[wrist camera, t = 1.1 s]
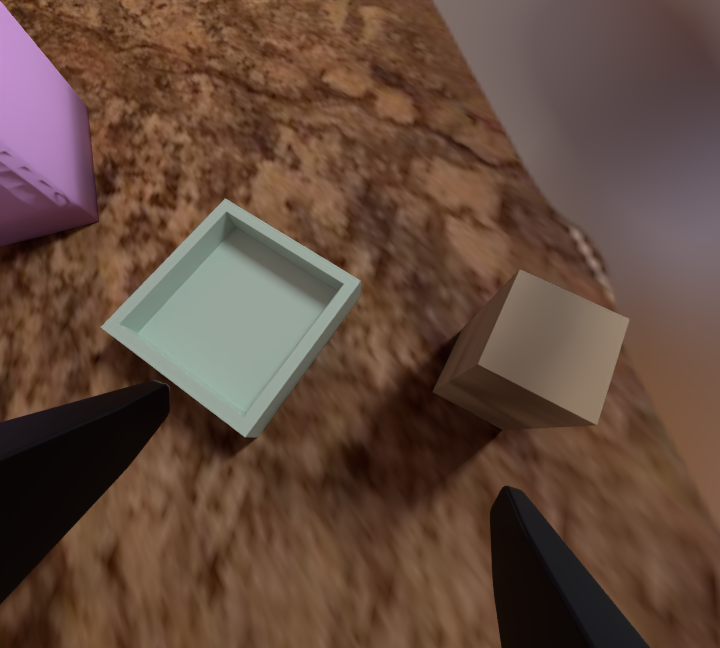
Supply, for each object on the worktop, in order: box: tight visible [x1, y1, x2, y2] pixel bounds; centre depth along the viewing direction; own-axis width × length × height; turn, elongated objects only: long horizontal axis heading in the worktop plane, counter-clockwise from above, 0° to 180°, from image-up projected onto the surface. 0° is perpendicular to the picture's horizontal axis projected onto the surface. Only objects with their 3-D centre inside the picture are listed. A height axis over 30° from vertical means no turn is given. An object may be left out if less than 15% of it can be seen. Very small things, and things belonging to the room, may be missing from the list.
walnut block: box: [432, 269, 629, 430], centre depth 18 cm, size 5×5×9 cm
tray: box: [101, 199, 361, 437], centre depth 23 cm, size 12×12×2 cm
